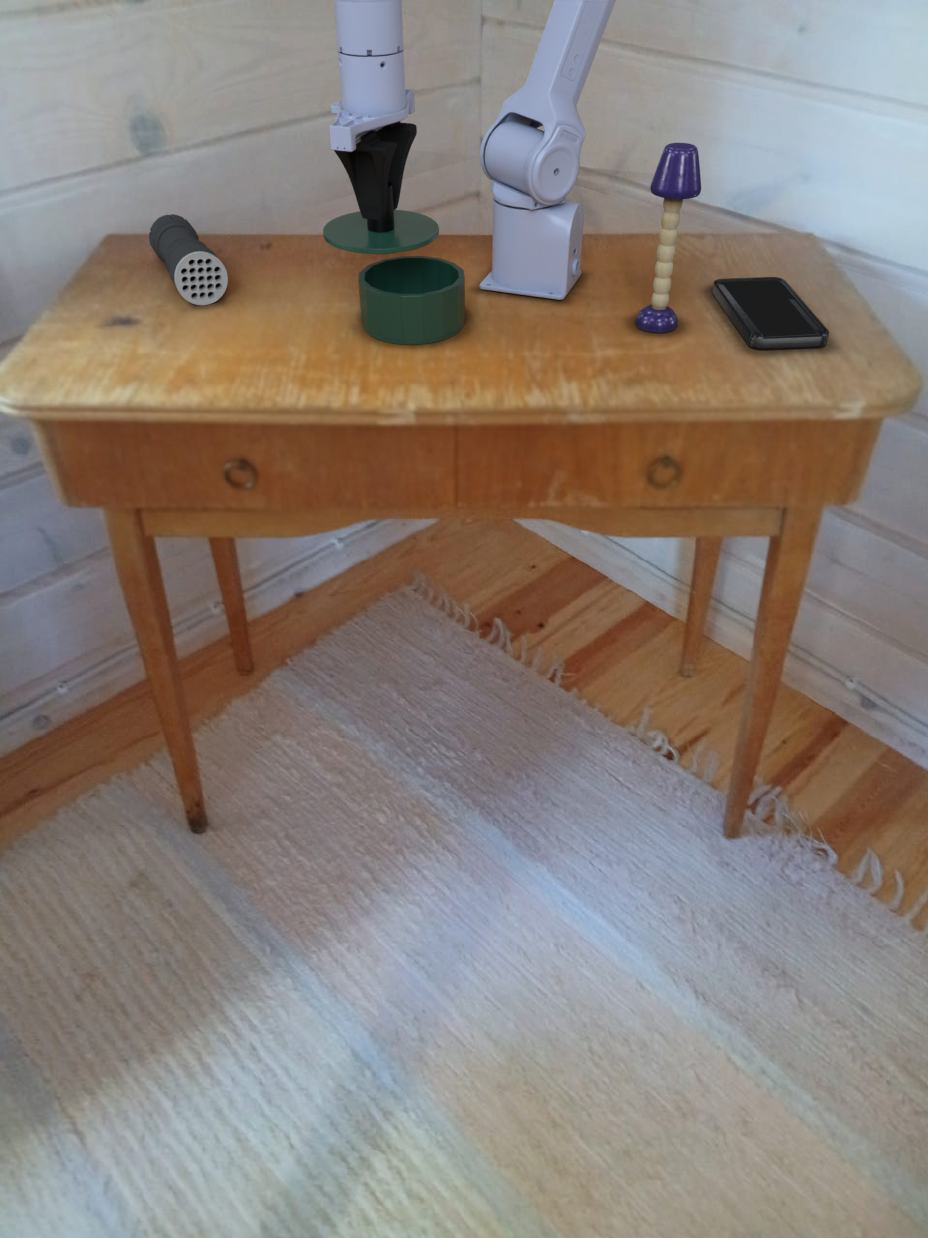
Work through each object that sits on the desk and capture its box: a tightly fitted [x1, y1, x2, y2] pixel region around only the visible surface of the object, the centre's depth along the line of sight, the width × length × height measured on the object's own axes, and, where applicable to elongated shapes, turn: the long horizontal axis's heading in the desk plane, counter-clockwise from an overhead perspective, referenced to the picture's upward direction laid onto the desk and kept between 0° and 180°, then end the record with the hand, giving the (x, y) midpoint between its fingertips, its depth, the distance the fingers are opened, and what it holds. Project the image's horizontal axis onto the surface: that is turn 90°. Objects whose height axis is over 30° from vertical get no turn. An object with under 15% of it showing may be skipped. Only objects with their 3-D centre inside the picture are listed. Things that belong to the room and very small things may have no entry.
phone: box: [711, 276, 830, 350], centre depth 97 cm, size 8×1×15 cm
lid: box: [322, 182, 440, 255], centre depth 91 cm, size 11×11×5 cm
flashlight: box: [148, 213, 229, 306], centre depth 104 cm, size 15×5×5 cm, turn 25°
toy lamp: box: [634, 142, 702, 334], centre depth 91 cm, size 5×5×17 cm
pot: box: [358, 255, 466, 346], centre depth 96 cm, size 10×10×5 cm
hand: (380, 212), depth 91 cm, fingers closed on lid, 2 cm apart
